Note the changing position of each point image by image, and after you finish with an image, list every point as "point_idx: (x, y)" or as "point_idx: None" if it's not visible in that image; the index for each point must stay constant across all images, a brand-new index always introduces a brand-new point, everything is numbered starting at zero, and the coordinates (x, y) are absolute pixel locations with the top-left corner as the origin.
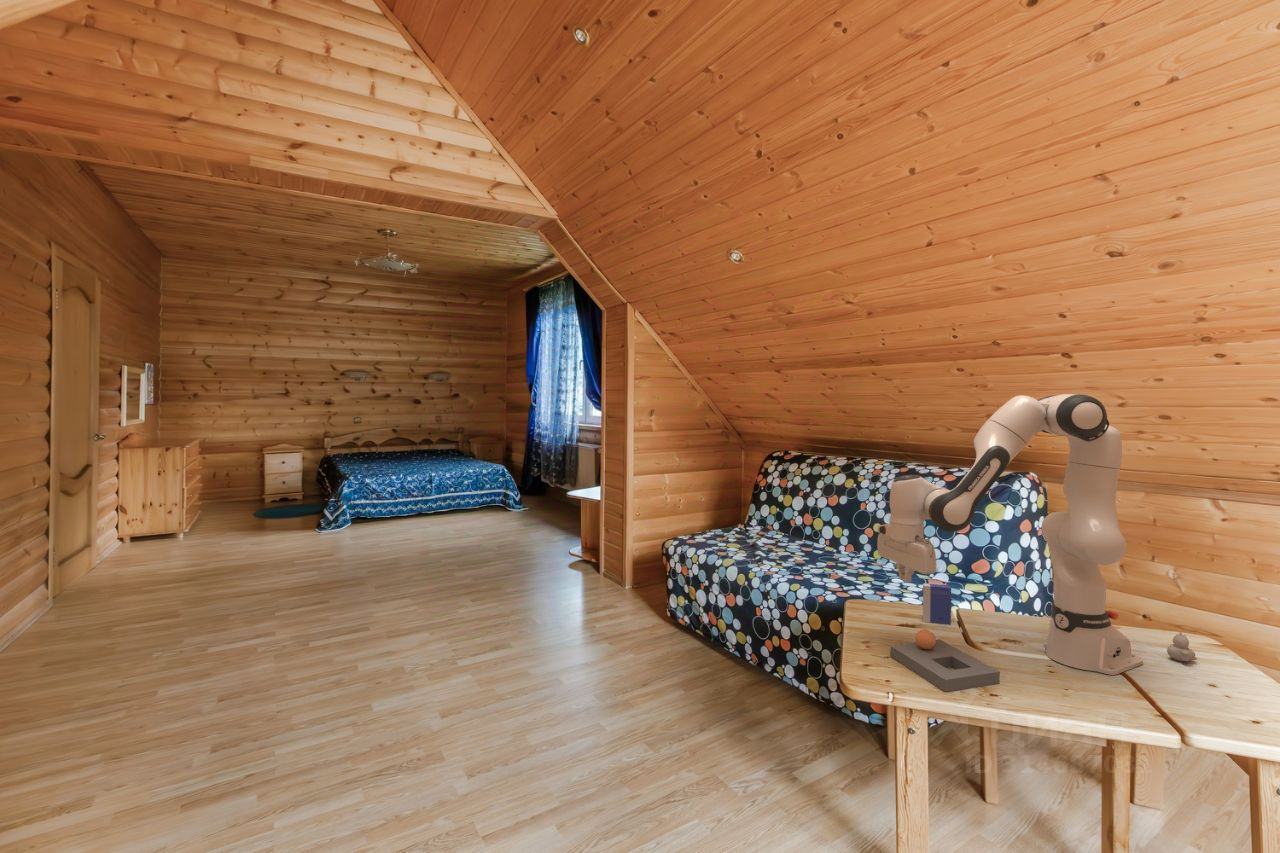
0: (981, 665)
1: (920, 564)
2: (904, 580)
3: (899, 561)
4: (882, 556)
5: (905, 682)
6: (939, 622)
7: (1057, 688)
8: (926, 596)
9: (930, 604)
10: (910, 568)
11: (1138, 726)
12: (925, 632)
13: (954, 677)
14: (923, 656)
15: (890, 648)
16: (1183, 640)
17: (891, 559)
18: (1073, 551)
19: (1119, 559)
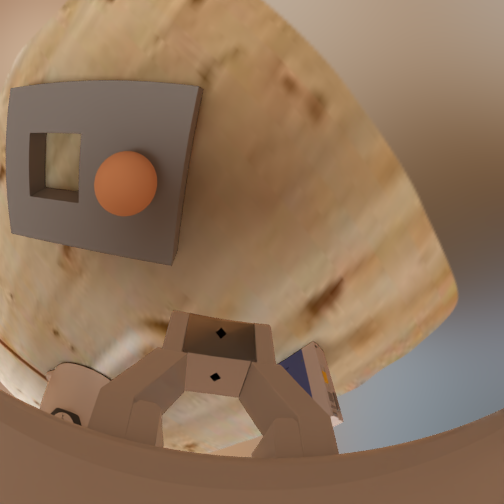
0: (32, 224)
1: None
2: (197, 316)
3: (236, 495)
4: (498, 415)
5: (85, 29)
6: (286, 360)
7: (12, 288)
8: (320, 394)
9: (308, 383)
10: (18, 399)
11: None
12: (105, 181)
13: (10, 116)
14: (99, 125)
15: (199, 87)
16: None
17: (409, 456)
18: None
19: None
